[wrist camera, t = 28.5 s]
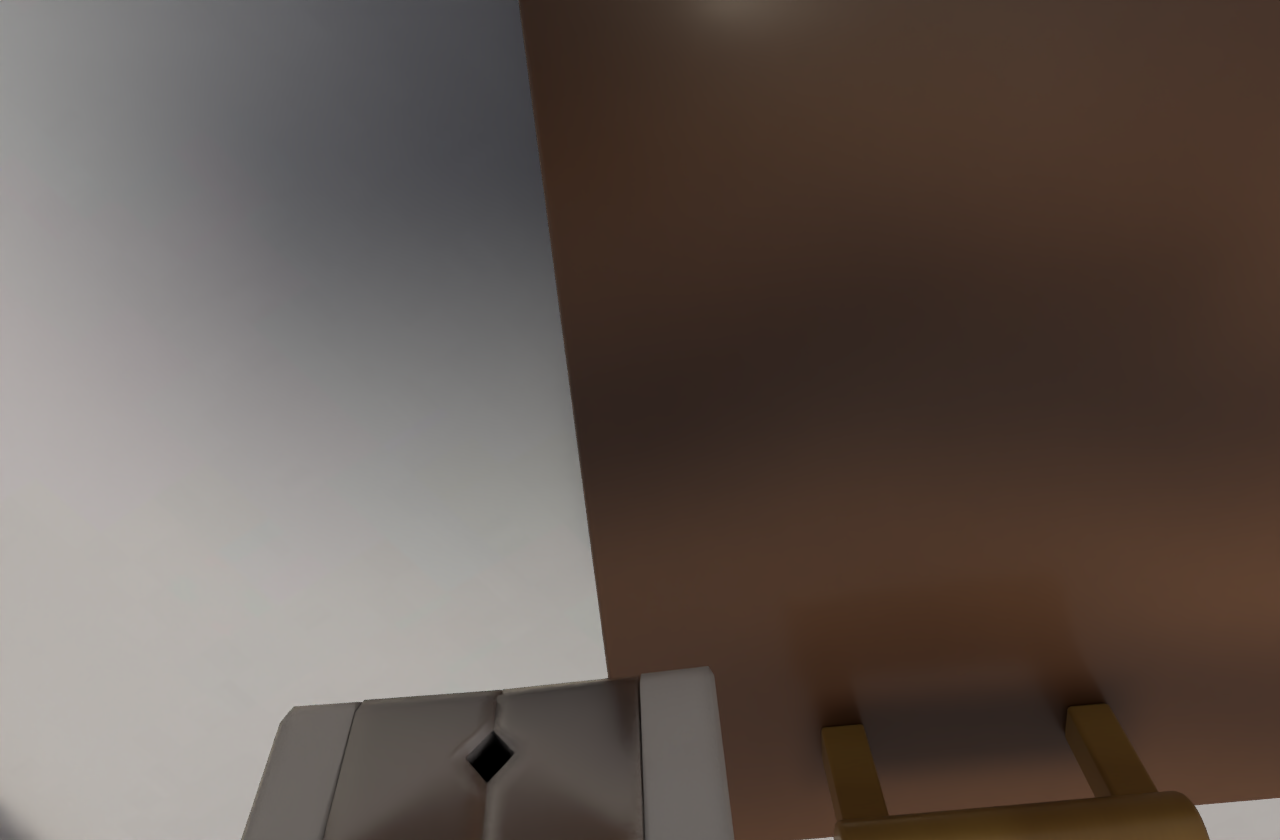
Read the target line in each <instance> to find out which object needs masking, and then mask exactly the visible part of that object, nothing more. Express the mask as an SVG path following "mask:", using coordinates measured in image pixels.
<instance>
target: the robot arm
mask: <svg viewBox="0 0 1280 840" xmlns="http://www.w3.org/2000/svg"><path fill="white" fill-rule="evenodd" d="M241 840H734V832H733V824H732V816H731V808H730V800H729V792H728V784H727V775H726V767H725V759H724V751H723V743H722V735H721V727H720V719H719V711H718V702H717V694H716V686H715V678H714V674H713V673H712V671H711V669H710V668H709V666H704V667H696V668H687V669H679V670H670V671H661V672H653V673H644V674H641V678H640V676H639V675H636V676H626V677H617V678H607V679H598V680H588V681H579V682H569V683H560V684H550V685H541V686H531V687H522V688H512V689H503V690H493V691H480V692H466V693H453V694H439V695H425V696H412V697H398V698H385V699H371V700H364V701H363V702H352V703H337V704H323V705H309V706H295V707H293V708H292V709H291V711H290V712H289V713H288V714H287V715H286V716H285V717H284V719H283V720H282V721H281V723H280V724H279V727H278V730H277V733H276V736H275V739H274V742H273V745H272V748H271V751H270V754H269V757H268V760H267V763H266V766H265V769H264V772H263V775H262V778H261V781H260V784H259V787H258V791H257V794H256V797H255V800H254V803H253V806H252V809H251V812H250V815H249V818H248V821H247V824H246V827H245V830H244V833H243V836H242V839H241Z"/></svg>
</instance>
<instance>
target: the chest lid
mask: <svg viewBox="0 0 1280 840" xmlns="http://www.w3.org/2000/svg"><path fill="white" fill-rule="evenodd" d="M518 1H519V9H520V16H521V24H522V31H523V39H524V46H525V54H526V61H527V69H528V76H529V84H530V91H531V99H532V107H533V114H534V122H535V129H536V137H537V144H538V152H539V159H540V167H541V174H542V182H543V189H544V197H545V205H546V212H547V220H548V227H549V235H550V242H551V250H552V257H553V265H554V272H555V280H556V287H557V295H558V302H559V310H560V318H561V325H562V333H563V340H564V348H565V355H566V363H567V370H568V378H569V385H570V393H571V400H572V408H573V415H574V423H575V431H576V438H577V446H578V453H579V461H580V468H581V476H582V483H583V491H584V498H585V506H586V513H587V521H588V529H589V536H590V544H591V551H592V559H593V566H594V574H595V581H596V589H597V596H598V604H599V611H600V619H601V626H602V634H603V642H604V649H605V657H606V664H607V672H608V678H617V677H626V676H636V675H639V676H640V678H641V674H644V673H653V672H661V671H670V670H679V669H687V668H696V667H704V666H709V668H710V669H711V671H712V673H713V674H714V678H715V686H716V694H717V702H718V711H719V719H720V727H721V735H722V743H723V751H724V759H725V767H726V775H727V784H728V792H729V800H730V808H731V816H732V824H733V832H734V840H803V839H814V838H826V837H834V840H1210V839H1209V836H1208V833H1207V830H1206V828H1205V825H1204V823H1203V820H1202V818H1201V816H1200V814H1199V812H1198V810H1197V809H1196V807H1195V806H1194V805H1203V804H1214V803H1226V802H1237V801H1248V800H1260V799H1271V798H1280V0H518Z"/></svg>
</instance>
